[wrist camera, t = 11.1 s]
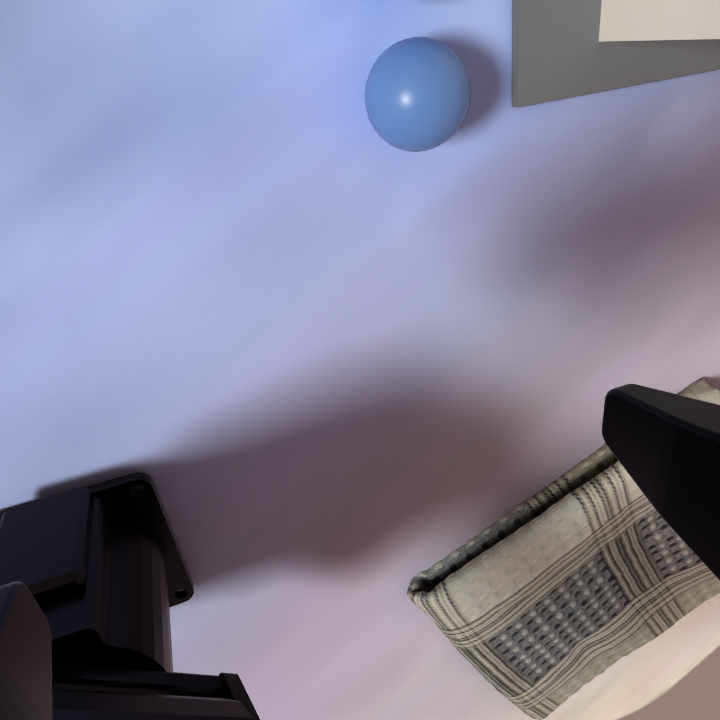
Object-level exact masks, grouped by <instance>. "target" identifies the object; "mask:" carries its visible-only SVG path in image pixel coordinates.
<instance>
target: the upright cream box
mask: <svg viewBox="0 0 720 720" xmlns="http://www.w3.org/2000/svg"><path fill="white" fill-rule="evenodd" d="M697 39H720V0H602V3H601V16H600V30H599V42H603V41H650V40H697Z"/></svg>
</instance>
